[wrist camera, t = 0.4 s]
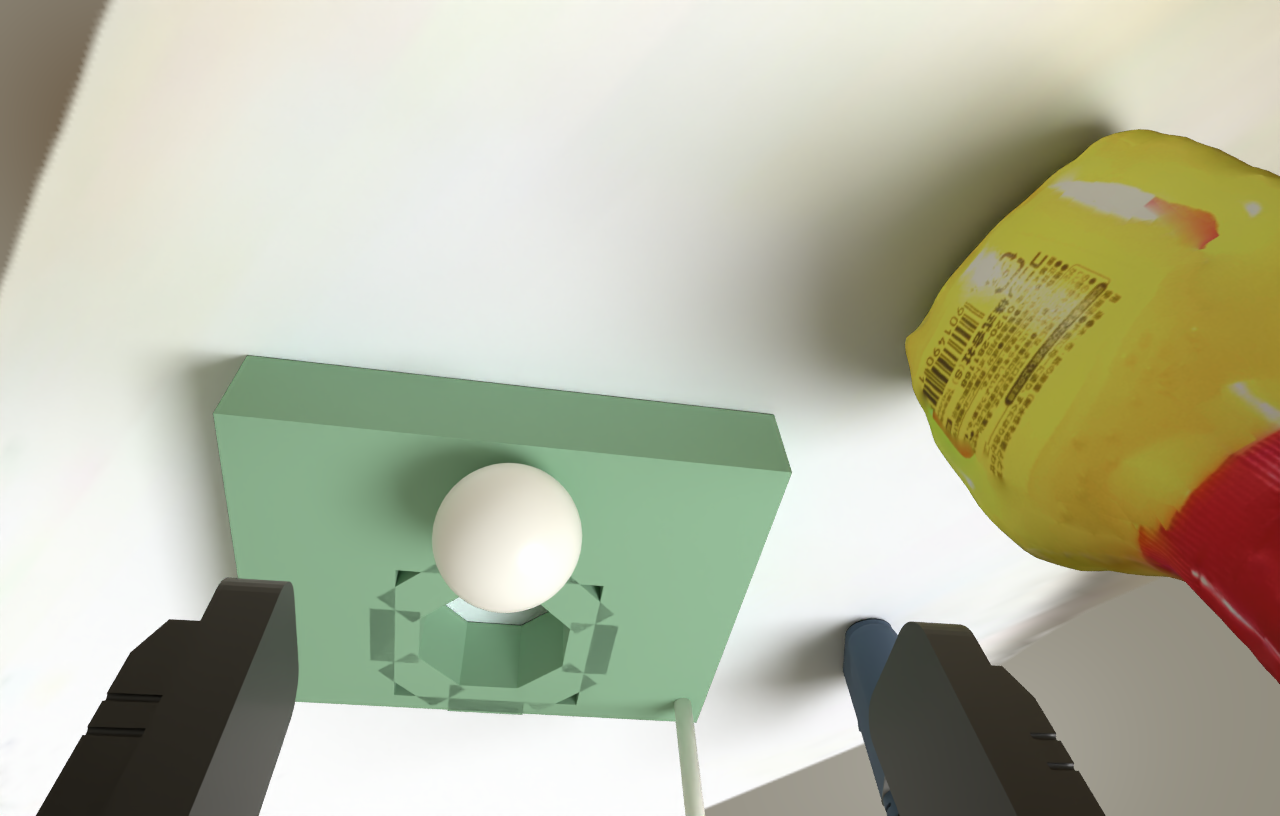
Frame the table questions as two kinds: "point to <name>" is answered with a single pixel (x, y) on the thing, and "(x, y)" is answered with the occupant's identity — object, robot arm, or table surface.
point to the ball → (507, 537)
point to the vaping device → (869, 685)
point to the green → (403, 524)
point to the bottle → (1125, 373)
